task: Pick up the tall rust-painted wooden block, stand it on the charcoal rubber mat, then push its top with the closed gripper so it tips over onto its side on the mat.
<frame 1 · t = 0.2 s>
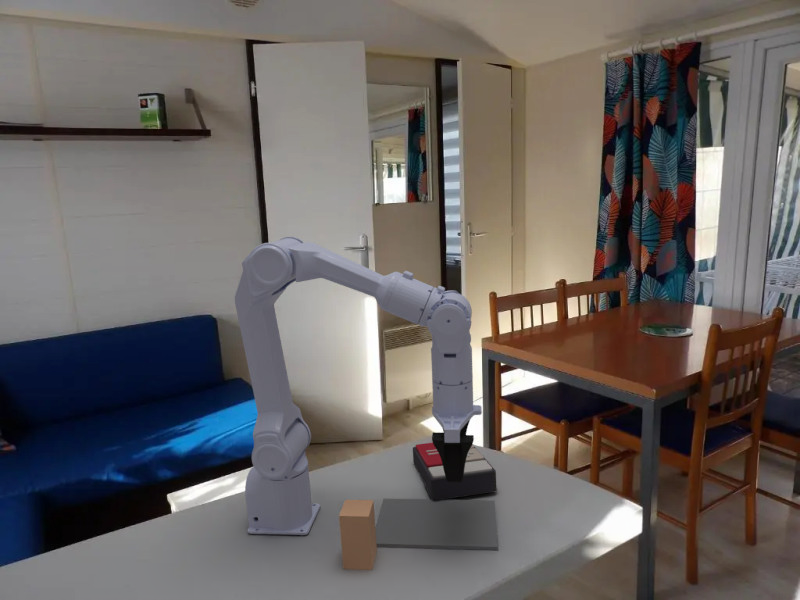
hand: (455, 467, 84), 10 cm above the table, tool pointing down, fingers open, 7 cm apart
block: (360, 560, 80), on the table
calculator: (452, 477, 101), on the table, touching mat
mat: (436, 523, 88), on the table
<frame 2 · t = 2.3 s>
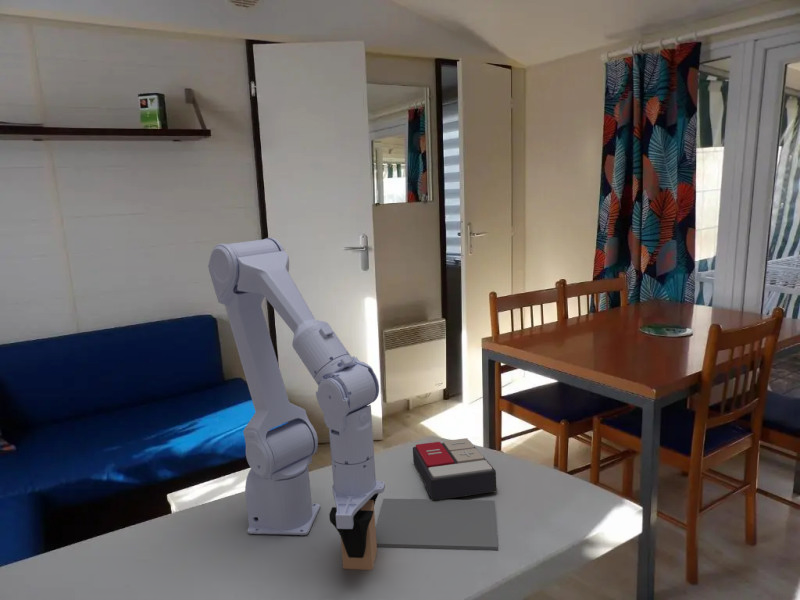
hand: (359, 545, 80), 2 cm above the table, tool pointing down, fingers closed on block, 4 cm apart
block: (360, 559, 80), on the table, touching gripper
everything else where it was.
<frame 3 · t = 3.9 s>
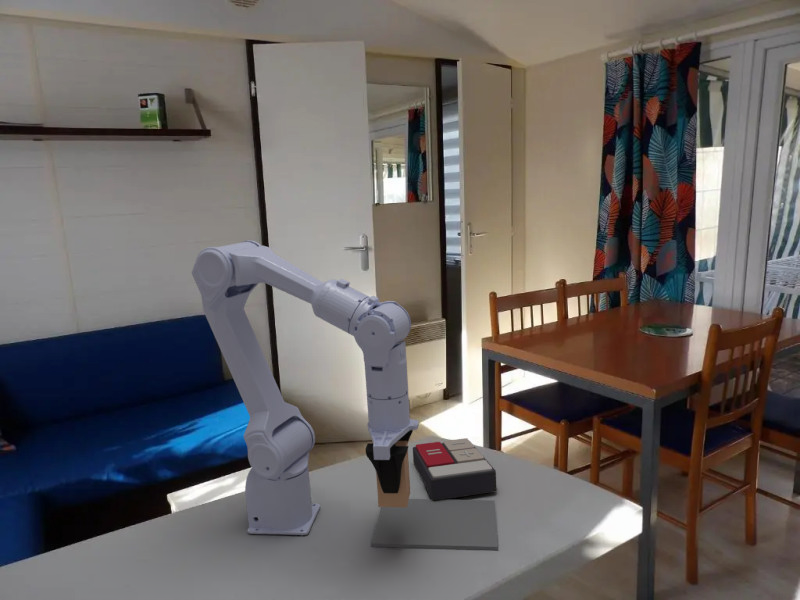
hand: (393, 483, 82), 9 cm above the table, tool pointing down, fingers closed on block, 4 cm apart
block: (394, 499, 82), point 7 cm above the table, touching gripper
everything else where it was.
when the fingers open (4 cm above the table, at t = 5.7 s): block stays where it is, resting on mat.
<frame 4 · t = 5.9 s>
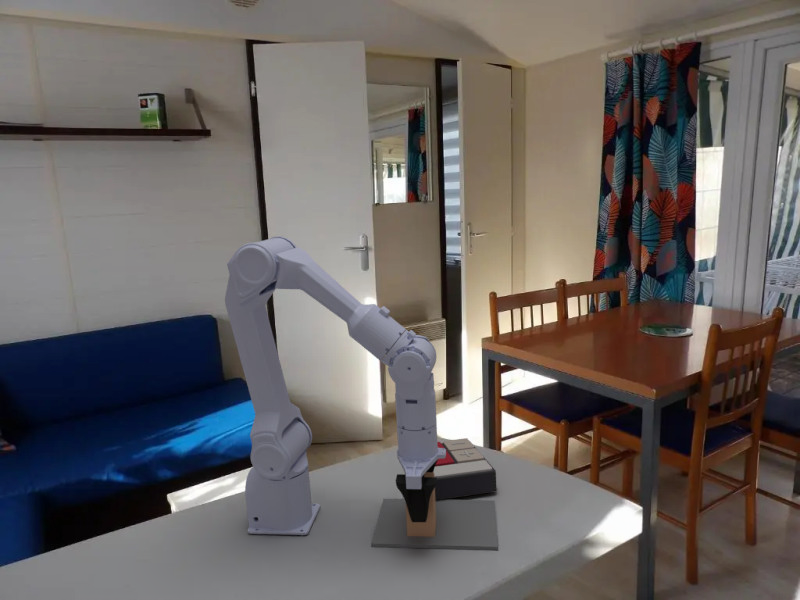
hand: (420, 508, 85), 4 cm above the table, tool pointing down, fingers open, 6 cm apart
block: (422, 528, 86), resting on mat
everything else where it was.
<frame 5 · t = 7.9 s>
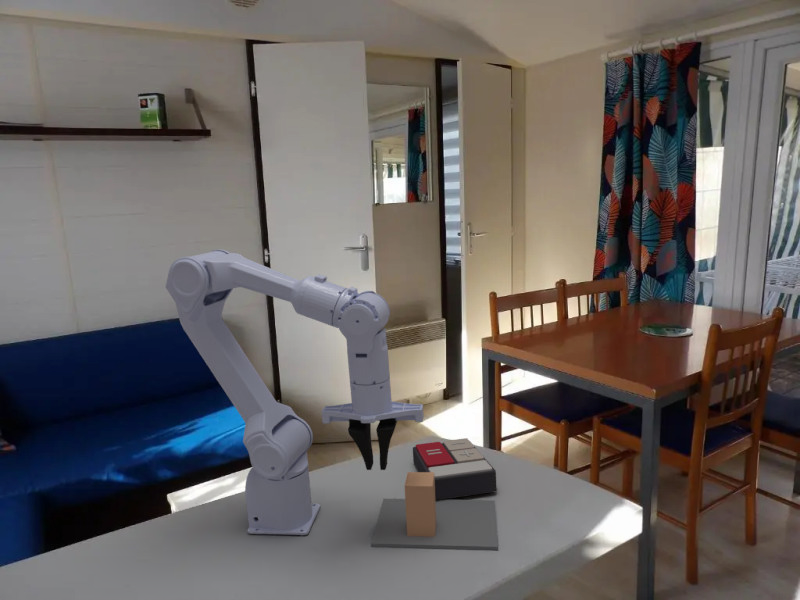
hand: (376, 466, 85), 10 cm above the table, tool pointing down, fingers closed
nothing on the table moved.
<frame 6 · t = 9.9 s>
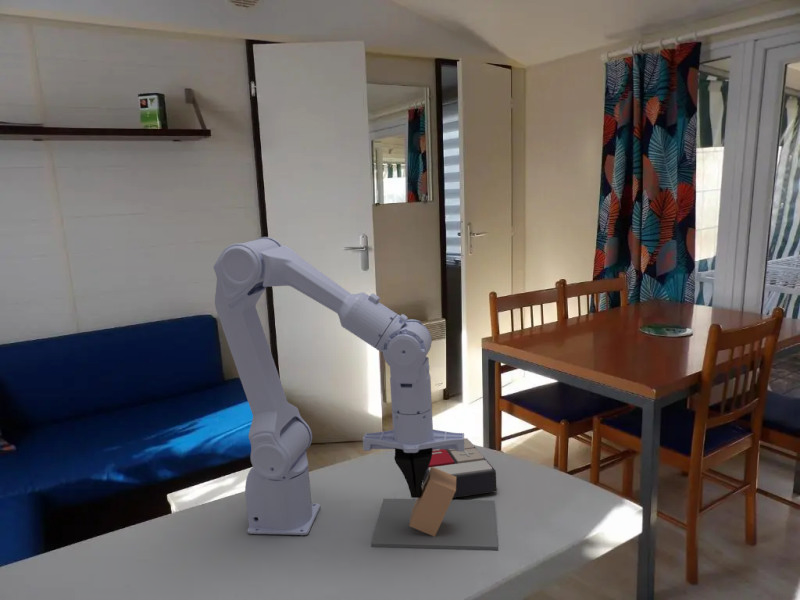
hand: (416, 494, 85), 6 cm above the table, tool pointing down, fingers closed
block: (423, 523, 86), point 1 cm above the table, tilted 24°, touching mat
everything else where it was.
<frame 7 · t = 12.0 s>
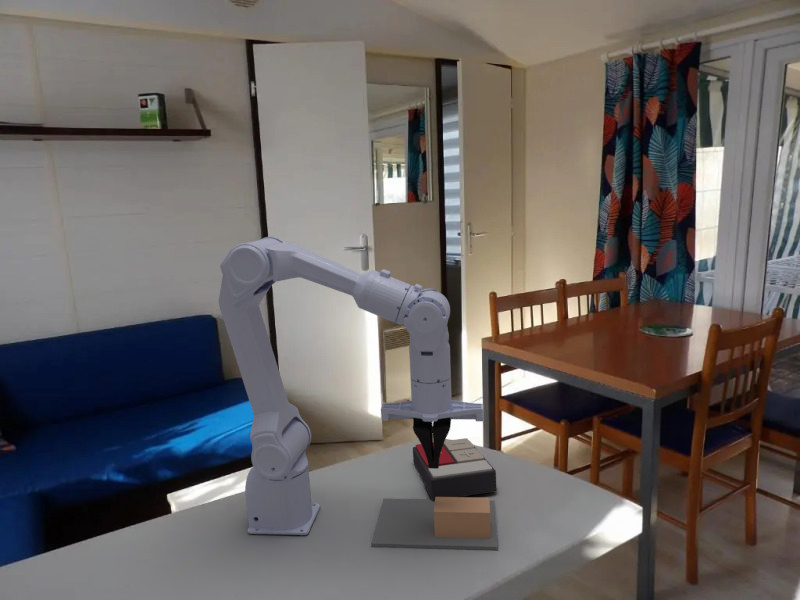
hand: (434, 465, 84), 10 cm above the table, tool pointing down, fingers closed
block: (435, 516, 85), point 2 cm above the table, tilted 90°, touching mat
everything else where it was.
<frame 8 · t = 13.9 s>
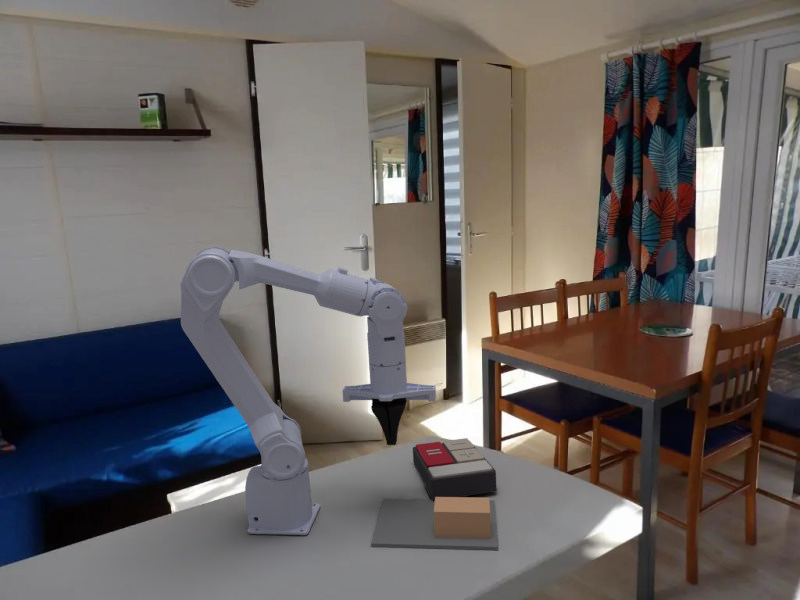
hand: (392, 442, 92), 10 cm above the table, tool pointing down, fingers closed
nothing on the table moved.
at the end: block tilted 90°; block inside the target area on the mat (1.6 cm from its centre), point 2.5 cm above the mat's base; the gripper is holding nothing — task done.
